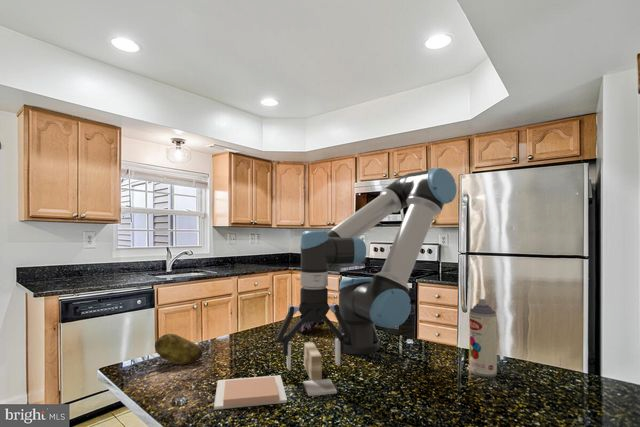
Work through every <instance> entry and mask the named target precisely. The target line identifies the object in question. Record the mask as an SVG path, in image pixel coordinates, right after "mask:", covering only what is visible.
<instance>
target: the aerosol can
mask: <svg viewBox="0 0 640 427" xmlns="http://www.w3.org/2000/svg"><path fill="white" fill-rule="evenodd" d="M468 314H469V318H468V320H469V371H470V373H471V374H473V375H474V376H477V377H483V378H495V377H496V376H497V375H498V365H497V364H498V362H497V361H498V357H497V356H498V355H497V352H498V351H497V350H498V348H497V345H498V344H497V343H498V342H497V339H498V338H497V314H496V311H495V310H493V308H492V307H491V306H490V305H489V304H488V303H487V300H486V299H485V298H479V299H478V302H477V303H476V304H475V305H474V306H473V307H471V308H470V309H469V313H468Z"/></svg>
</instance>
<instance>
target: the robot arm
mask: <svg viewBox="0 0 640 427" xmlns="http://www.w3.org/2000/svg"><path fill="white" fill-rule="evenodd" d="M457 189H458V188H457V183H456V180H455V177H454V176H453V174H452V173H451V172H450V171H449V170H448V169H446V168H443V167H438V168H435V167H433V168H430V169H426V170H421V171H415V172H410V173H409V172H408V173H406V174H404V175H403V176H401V177H399V178H398V179H396V180H394V181H393V182H391V183H390V184H389V185H387V186H386V187H384V188H383V189H382V190H381V191H380V193H379V195H378V196H377V197H376V198H374V199H373V200H371V201H370V202H368V203H367V204H366V205H364V206H363V207H361V208H359V209H358V210H357V211H355V212H354V213H352V214H351V215H349V216H348V217H347V218H345V219H344V220H342V222H340V223H338V224H337V225H335V226H334V227H332V228H331V229H330V230H328V231H327V230H305V231H303V232H302V233H301V236H300V238H301V239H300V281H299V282H300V284H299V285H300V286H301V288H300V296H299V297H300V299H299V302H300V303H299V305H298V306H297V305H293V304H289V305H288V310H287V314H286V316H285V318H284V320H283V322H282V324H281V326H280V328H279V330H278V332H277V335H276V336H275V339H276V341H277V343H282V354H283V356H284V357H286V367H287V371H288V370H291V369H292V368H291V367H292V364H291V363H292V344H291V340H292V339H293V338H294V336H295V335H296V334H297V333H298V330H299V329H300V327H301V326H302V325H303V324H304V323H305V322H306V321H308V322H314V321H315V322H320V321H322V320H324V322H325V325H326V324H327V325H328V326H327V327H329V328H330V330H331V331H332V332H333V333H334V334H335V335H334V339H333V348H334V363H335V365H336V366H338V367H340V366H341V353H344V354H349V355H369V354H375V353H376V352H377V351H379V350H380V339H379V336H378V333H377V329H376V326H378V327H382V328H386V329H394V328H397V327H400V326H401V325H403V323H405V322H406V321H407V319H408V318H409V315H410V313H411V309H412V304H411V298H410V296H409V293H410V287H409V285H408V282H409V279H410V277H411V274H412V272H413V269H414V267H415V264H416V262H417V259H418V257H419V255H420V252H421V249H422V247H423V245H424V242H425V240H426V237H427V235H428V232H429V230H430V227H431V224H432V223H433V220H434V218H435V216H438V215H441V212H442V211H443V207H444V206H445V205H447V204H449V203H452V202H453V201H454V200H455V199H456V195H457ZM405 208H407V209H406V212H405V215H404V217H403V219H402V221H401V223H400V225H399V229H398V230H397V233H396V235H395V237H394V240H393V243H392V244H391V247H390V250H389V251H388V254H387V256H386V259H385V261H384V264H383V266H382V268H381V271H378V272H377V273H374V275H373V276H372V277H371V276H370V277H369V276H367V277H364V276H363V277H349V278H342V279H341V280H340V282H339V288H338V292H339V294H338V295H339V296H338V298H339V301H338V302H339V304H338V303H336V302H333V303H332V304H329V298H328V297H329V294H328V291H329V289H328V287H327V286H328V285H329V283H328V282H329V280H328V279H329V278H328V277H329V275H328V274H329V273H328V272H329V265H331V266H332V265H349V264H350V265H354V264H361V263H363V262H364V260H365V259H366V256H367V245H366V243H365V241H364V240H363V239H362V238H360V237H362V236H363V235H364V234H365V233H367V232H368V231H369V230H371V229H372V228H373V227H375V226H376V225H378V224H380V222H381V221H383V220H385V219H386V218H387V217H389V216H390V215H391V214H393V213H399V212H400V211H401V210H403V209H405ZM329 311H331V312H332V313H333V314H334V317H335V318H336V320H337V323H338V326H337V327H336V326H335V325H334V323H333V322H332V321H331V320H330V318H329V317H327V314H328V312H329ZM297 312H299V313H300V315H299V317H298V319H297V321H296V322H295V323H294V324H293V325H292V326H291V328H289V326H290V324H291V323H292V322H291V321H292V320H293V318H294V315H296V314H297ZM301 314H302V315H301ZM288 329H289V330H288ZM287 330H288V332H287Z"/></svg>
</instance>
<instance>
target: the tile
mask: <svg viewBox="0 0 640 427" xmlns="http://www.w3.org/2000/svg"><path fill="white" fill-rule="evenodd" d="M270 402H279V394H278V390H277V385H276V381H275V377H266V378H254V379H241V380H229V381H225V389H224V399H223V407H228V406H238V405H249V404H259V403H270Z"/></svg>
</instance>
